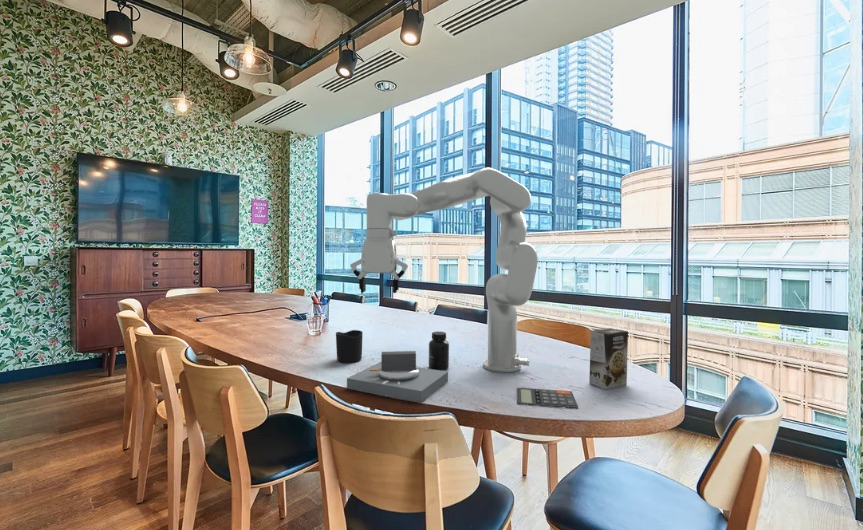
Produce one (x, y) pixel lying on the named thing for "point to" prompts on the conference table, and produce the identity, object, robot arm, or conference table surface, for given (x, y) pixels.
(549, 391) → the calculator
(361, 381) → the stand
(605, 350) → the coffee box
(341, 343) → the pen holder
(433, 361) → the supplement bottle
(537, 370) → the conference table surface
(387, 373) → the gray block on plate
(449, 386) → the conference table surface
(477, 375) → the conference table surface
